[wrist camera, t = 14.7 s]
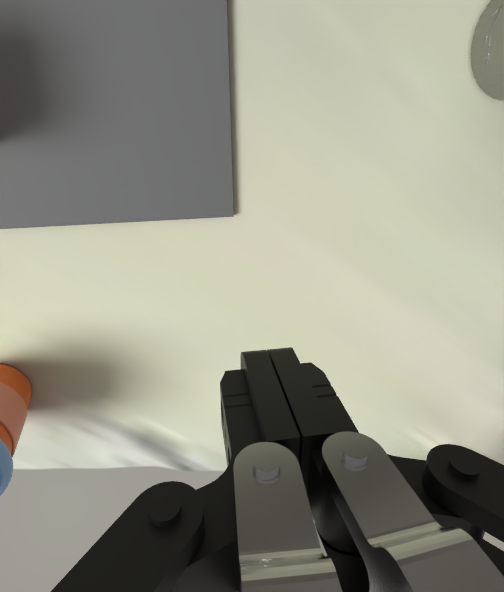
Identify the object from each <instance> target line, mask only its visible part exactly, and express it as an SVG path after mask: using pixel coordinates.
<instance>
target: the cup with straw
mask: <svg viewBox="0 0 504 592" xmlns="http://www.w3.org/2000/svg"><path fill="white" fill-rule="evenodd" d="M31 396H32V388H31V384H30V382H29V380H28V379H27V378H26V376H25V375H24V374H22V373H21V372H20V371H18V370H17V369H15V368H13V367H10V366H7V365H3V364H0V495H1V494H2V493H3V492H4V490H5V489H6V488H7V486H8V484H9V482H10V480H11V477H12V472H13V460H12V457H13V455H14V452H15V449H16V446H17V443H18V440H19V438H20V435H21V432H22V429H23V426H24V423H25V420H26V416H27V408H28V405H29V402H30V399H31Z"/></svg>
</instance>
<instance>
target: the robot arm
mask: <svg viewBox="0 0 504 592" xmlns="http://www.w3.org/2000/svg"><path fill="white" fill-rule="evenodd" d="M471 62H472V69H473V73H474V77H475V79H476V81H477V83H478V85H479V87H480V88H481V89H482V90H483V91H484V92H485V93H486V94H487V95H489V96H491V97H492V98H495V99H499V100H504V0H491V1H490V3H489V4H488V5H487V7H486V9H485V10H484V12H483V13H482V15H481V17H480V20H479V22H478V24H477V27H476V29H475V33H474V37H473V41H472V49H471ZM220 392H221V418H222V430H223V437H224V444H225V450H226V458H227V465H228V467H227V469H226V470H225V472H224V473H223V474H222V475H221V476H220V477H219V478H218V479H216V480H215V481H214V482H212V483H210V484H208V485H206V486H204V487H201V488H199V489H197V490H195V489H194V488H193V487H191V486H189V485H187V484H185V483H182V482H175V481H171V482H163V483H159V484H157V485H154V486H152V487H150V488H148V489H147V490H145V491H144V492H143V493H141V494H140V495H139V496H138V497H137V498H136V499H135V501H134V502H133V503H132V504H131V505H130V506H129V507H128V508H127V509H126V510H125V511H124V512H123V514H122V515H121V516H120V517H119V518H118V519H117V520H116V521H115V522H114V523H113V524H112V526H111V527H110V528H109V529H108V530H107V531H106V532H105V533H104V534H103V535H102V537H100V539H99V540H98V541H97V542H96V543H95V544H94V545H93V546H92V547H91V548H90V550H89V551H88V552H87V553H86V554H85V555H84V556H83V557H82V558H81V559H80V560H79V561H78V563H77V564H76V565H75V566H74V567H73V568H72V569H71V570H70V571H69V572H68V573H67V575H66V576H65V577H64V578H63V579H62V580H61V581H60V582H59V583H58V584H57V585H56V587H55V588H54V589H53V590H52V591H51V592H504V551H502V550H500V549H499V548H497V547H495V546H494V545H492V544H490V543H489V542H487V541H485V540H484V539H482V538H483V536H484V533H485V532H487V533H489V534H490V535H492V536H494V537H495V538H498V539H499V540H501V541H502V542H504V465H502V464H500V463H498V462H496V461H494V460H491V459H489V458H487V457H485V456H483V455H481V454H479V453H477V452H475V451H473V450H470V449H468V448H465V447H462V446H458V445H451V444H444V445H439V446H436V447H434V448H433V449H431V450H430V452H429V453H428V456H427V460H426V461H425V460H417V459H410V458H402V457H396V456H392V455H388V454H386V452H385V451H384V449H383V448H382V447H381V446H380V445H379V444H378V443H377V442H376V441H374V440H373V439H372V438H370V437H368V436H366V435H363V434H360V433H359V432H358V430H357V428H356V427H355V425H354V423H353V422H352V420H351V418H350V416H349V415H348V413H347V411H346V410H345V408H344V406H343V404H342V403H341V401H340V399H339V398H338V396H336V392H335V391H334V389H333V387H332V386H331V384H330V382H329V380H328V379H327V377H326V375H325V373H324V372H323V371H322V370H320V369H319V368H318V367H316V366H315V365H314V364H312V363H301V364H300V362H299V360H298V358H297V356H296V354H295V352H294V350H293V348H281V349H270V350H267V351H266V350H260V351H248V352H241V370H230V371H225V374H224V376H223V378H222V380H221V382H220ZM313 519H314V520H313ZM314 522H315V524H314Z"/></svg>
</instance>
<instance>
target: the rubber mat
mask: <svg viewBox="0 0 504 592" xmlns="http://www.w3.org/2000/svg"><path fill="white" fill-rule="evenodd" d="M215 217H234V209H233V179H232V148H231V117H230V86H229V55H228V24H227V0H0V229H9V228H28V227H47V226H66V225H84V224H103V223H122V222H140V221H159V220H178V219H196V218H215Z"/></svg>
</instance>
